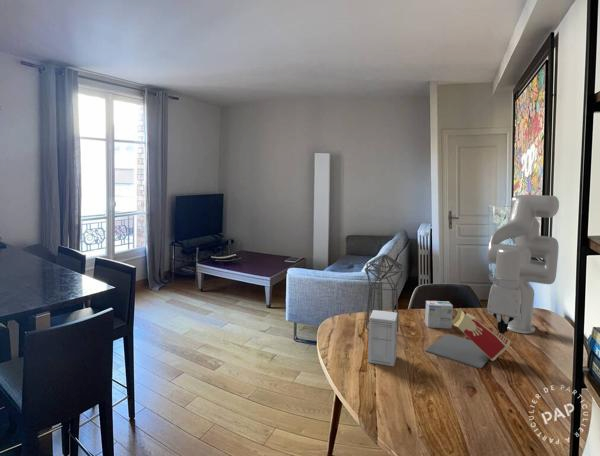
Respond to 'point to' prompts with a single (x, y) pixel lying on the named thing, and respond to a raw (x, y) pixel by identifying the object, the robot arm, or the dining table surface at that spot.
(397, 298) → the geometric lantern
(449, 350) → the mat
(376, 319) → the supplement box
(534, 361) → the dining table surface
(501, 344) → the milk carton
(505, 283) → the robot arm
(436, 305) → the light bulb box
